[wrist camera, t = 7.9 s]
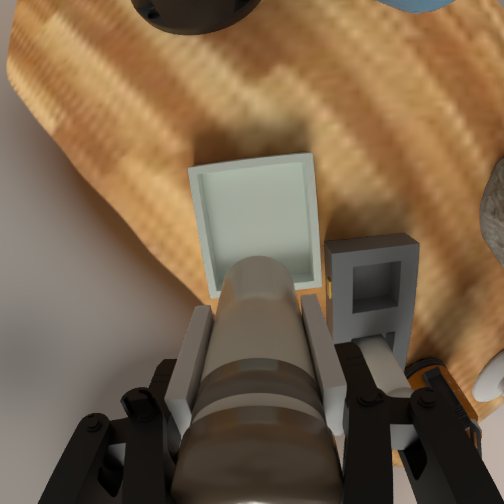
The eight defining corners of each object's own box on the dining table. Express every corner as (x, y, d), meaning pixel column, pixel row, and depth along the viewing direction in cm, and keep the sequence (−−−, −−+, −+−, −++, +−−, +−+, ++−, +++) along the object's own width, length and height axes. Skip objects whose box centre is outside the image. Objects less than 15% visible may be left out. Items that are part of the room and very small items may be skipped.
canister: (394, 405, 44) (433, 502, 25) (390, 358, 41) (444, 468, 22) (441, 385, 43) (491, 473, 24) (444, 337, 40) (512, 430, 21)
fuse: (348, 327, 38) (382, 407, 25) (384, 321, 38) (428, 395, 24) (347, 357, 39) (375, 437, 26) (381, 351, 39) (417, 426, 26)
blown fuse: (213, 257, 19) (144, 463, 6) (294, 248, 19) (355, 454, 6) (225, 325, 21) (195, 531, 8) (299, 318, 20) (338, 524, 7)
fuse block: (322, 241, 35) (329, 254, 32) (404, 232, 35) (419, 243, 31) (325, 367, 41) (330, 386, 38) (394, 355, 41) (403, 372, 37)
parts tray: (193, 165, 33) (187, 167, 30) (307, 151, 32) (312, 152, 29) (213, 286, 37) (210, 298, 35) (317, 275, 37) (321, 286, 34)
